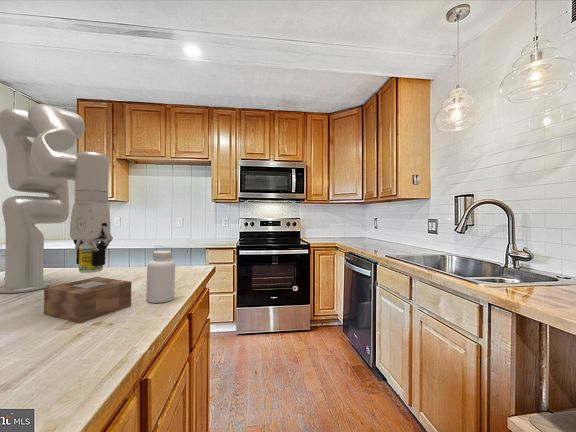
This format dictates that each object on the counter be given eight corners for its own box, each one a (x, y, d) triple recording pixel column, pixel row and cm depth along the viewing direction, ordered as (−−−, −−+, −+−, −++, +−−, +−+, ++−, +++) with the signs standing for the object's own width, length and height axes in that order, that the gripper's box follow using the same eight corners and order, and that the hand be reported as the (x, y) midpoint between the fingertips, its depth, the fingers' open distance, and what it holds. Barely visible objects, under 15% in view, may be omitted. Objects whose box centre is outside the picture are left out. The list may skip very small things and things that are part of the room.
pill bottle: (179, 298, 88) (180, 251, 88) (156, 305, 81) (157, 254, 81) (164, 294, 92) (165, 249, 92) (140, 300, 86) (141, 251, 85)
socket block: (43, 314, 72) (44, 287, 72) (97, 299, 85) (97, 276, 85) (79, 323, 67) (80, 294, 67) (130, 305, 80) (131, 281, 80)
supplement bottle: (102, 268, 80) (103, 235, 80) (102, 272, 75) (103, 236, 75) (79, 270, 77) (79, 235, 77) (77, 274, 72) (78, 237, 72)
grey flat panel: (71, 289, 75) (71, 285, 75) (93, 284, 80) (93, 281, 80) (86, 292, 73) (86, 288, 73) (107, 286, 78) (107, 283, 78)
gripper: (56, 197, 76) (55, 264, 76) (100, 197, 70) (99, 269, 70) (84, 199, 83) (83, 260, 83) (127, 199, 77) (125, 264, 77)
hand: (90, 263), depth 76 cm, fingers closed on supplement bottle, 5 cm apart
